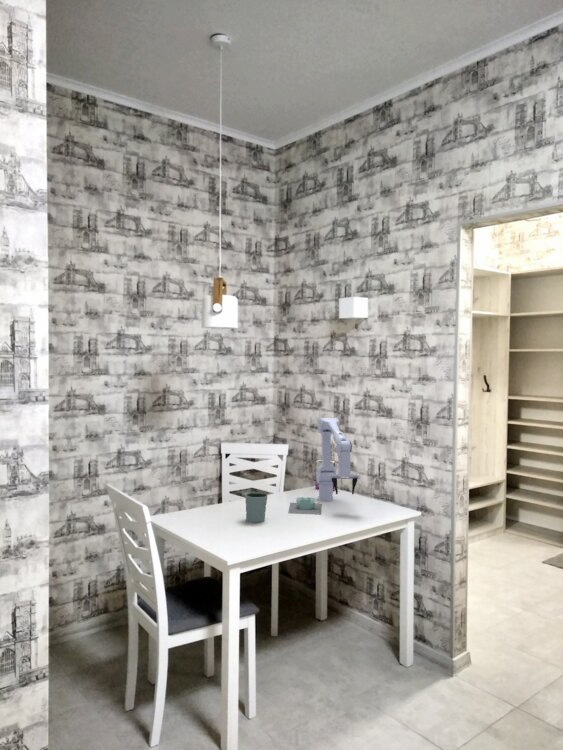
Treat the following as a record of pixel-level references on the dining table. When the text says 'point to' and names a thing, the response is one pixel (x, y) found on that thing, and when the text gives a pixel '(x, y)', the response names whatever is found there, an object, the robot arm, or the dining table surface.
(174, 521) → the dining table surface
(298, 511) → the charcoal mat
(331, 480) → the robot arm
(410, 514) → the dining table surface
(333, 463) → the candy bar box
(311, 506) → the teal plug
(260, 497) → the teal cup
